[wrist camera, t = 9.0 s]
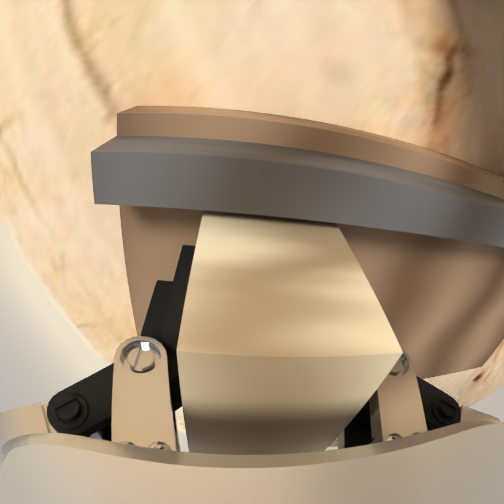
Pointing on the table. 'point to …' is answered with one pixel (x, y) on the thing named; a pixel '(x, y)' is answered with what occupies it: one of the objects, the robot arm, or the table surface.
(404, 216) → the walnut board
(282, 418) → the block
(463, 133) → the table surface
